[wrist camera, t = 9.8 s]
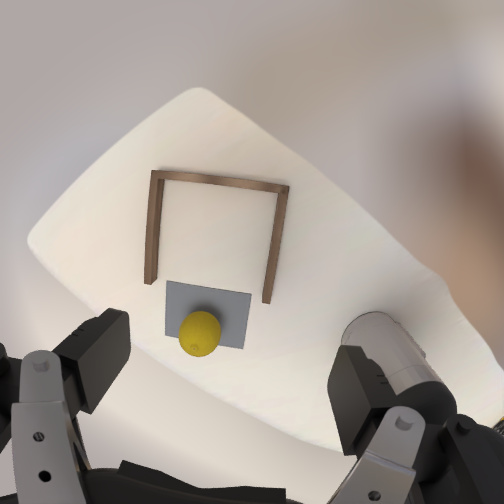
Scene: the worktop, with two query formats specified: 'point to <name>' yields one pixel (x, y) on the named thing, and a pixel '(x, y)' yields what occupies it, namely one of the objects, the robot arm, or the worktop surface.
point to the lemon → (199, 333)
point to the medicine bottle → (499, 426)
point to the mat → (208, 310)
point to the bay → (159, 177)
